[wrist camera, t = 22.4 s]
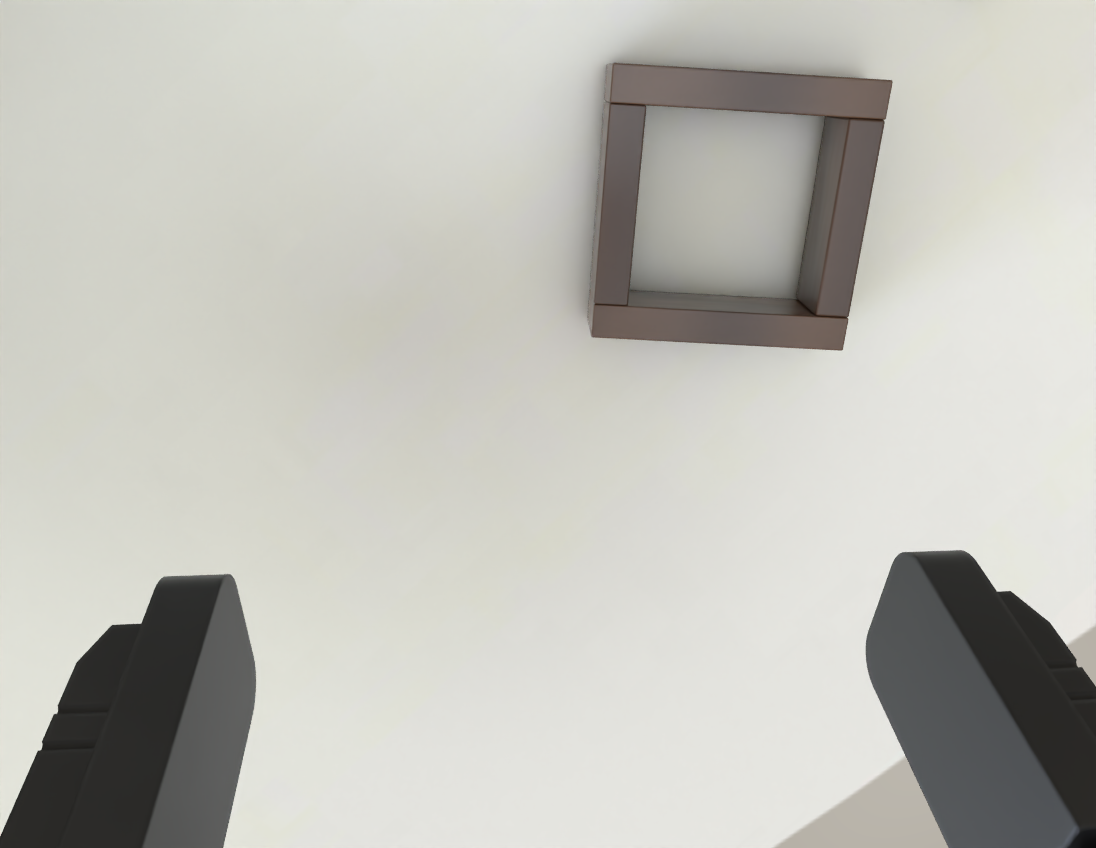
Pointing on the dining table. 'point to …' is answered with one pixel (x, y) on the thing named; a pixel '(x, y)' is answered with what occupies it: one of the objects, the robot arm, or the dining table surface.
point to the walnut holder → (832, 220)
